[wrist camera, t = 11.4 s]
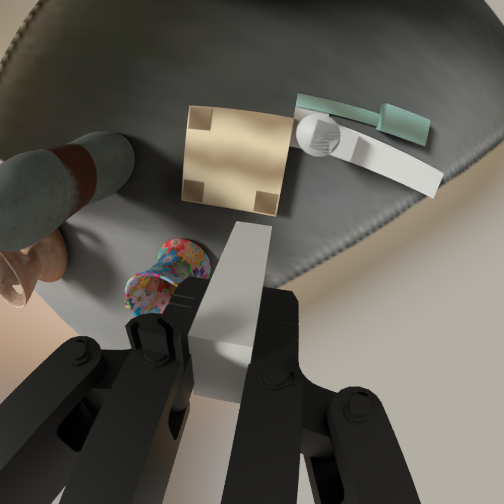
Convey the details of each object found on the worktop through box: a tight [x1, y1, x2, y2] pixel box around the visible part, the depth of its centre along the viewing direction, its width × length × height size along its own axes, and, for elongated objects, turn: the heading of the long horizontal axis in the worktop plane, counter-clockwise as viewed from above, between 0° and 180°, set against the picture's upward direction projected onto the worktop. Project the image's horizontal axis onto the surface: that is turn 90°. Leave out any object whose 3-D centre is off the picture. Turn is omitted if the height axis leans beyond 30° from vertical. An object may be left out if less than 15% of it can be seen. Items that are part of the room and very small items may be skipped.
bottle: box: [0, 131, 135, 252], centre depth 21 cm, size 9×9×30 cm
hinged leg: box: [296, 114, 444, 198], centre depth 26 cm, size 17×4×8 cm, turn 75°
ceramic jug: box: [0, 228, 68, 308], centre depth 37 cm, size 18×14×14 cm
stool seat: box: [182, 93, 431, 216], centre depth 28 cm, size 16×28×7 cm, turn 82°
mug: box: [125, 239, 211, 317], centre depth 37 cm, size 12×9×11 cm
